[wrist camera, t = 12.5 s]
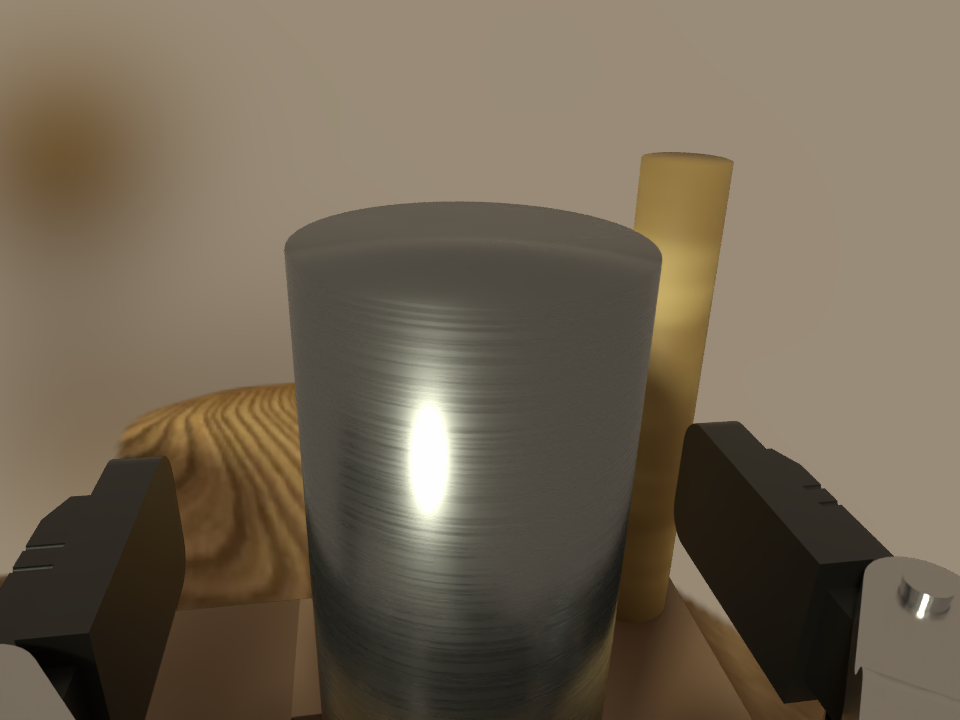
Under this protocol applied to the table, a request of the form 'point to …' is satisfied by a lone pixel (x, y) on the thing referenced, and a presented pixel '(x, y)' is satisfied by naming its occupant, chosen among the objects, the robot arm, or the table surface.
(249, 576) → the table surface
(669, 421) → the hole block
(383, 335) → the long pin
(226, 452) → the table surface
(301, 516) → the table surface
